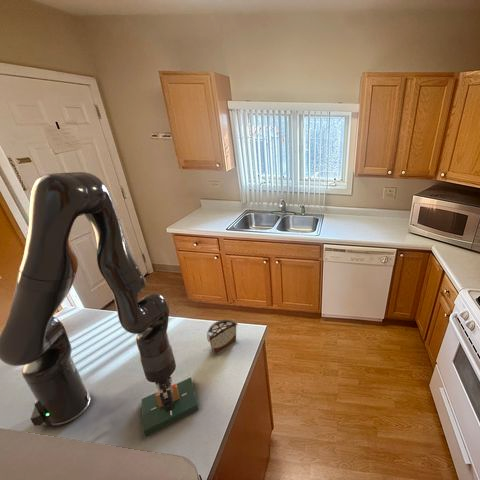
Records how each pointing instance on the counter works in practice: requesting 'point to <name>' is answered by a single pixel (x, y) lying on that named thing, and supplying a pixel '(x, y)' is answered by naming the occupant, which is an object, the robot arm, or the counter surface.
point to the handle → (174, 394)
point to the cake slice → (222, 335)
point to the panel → (160, 418)
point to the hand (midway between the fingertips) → (168, 399)
